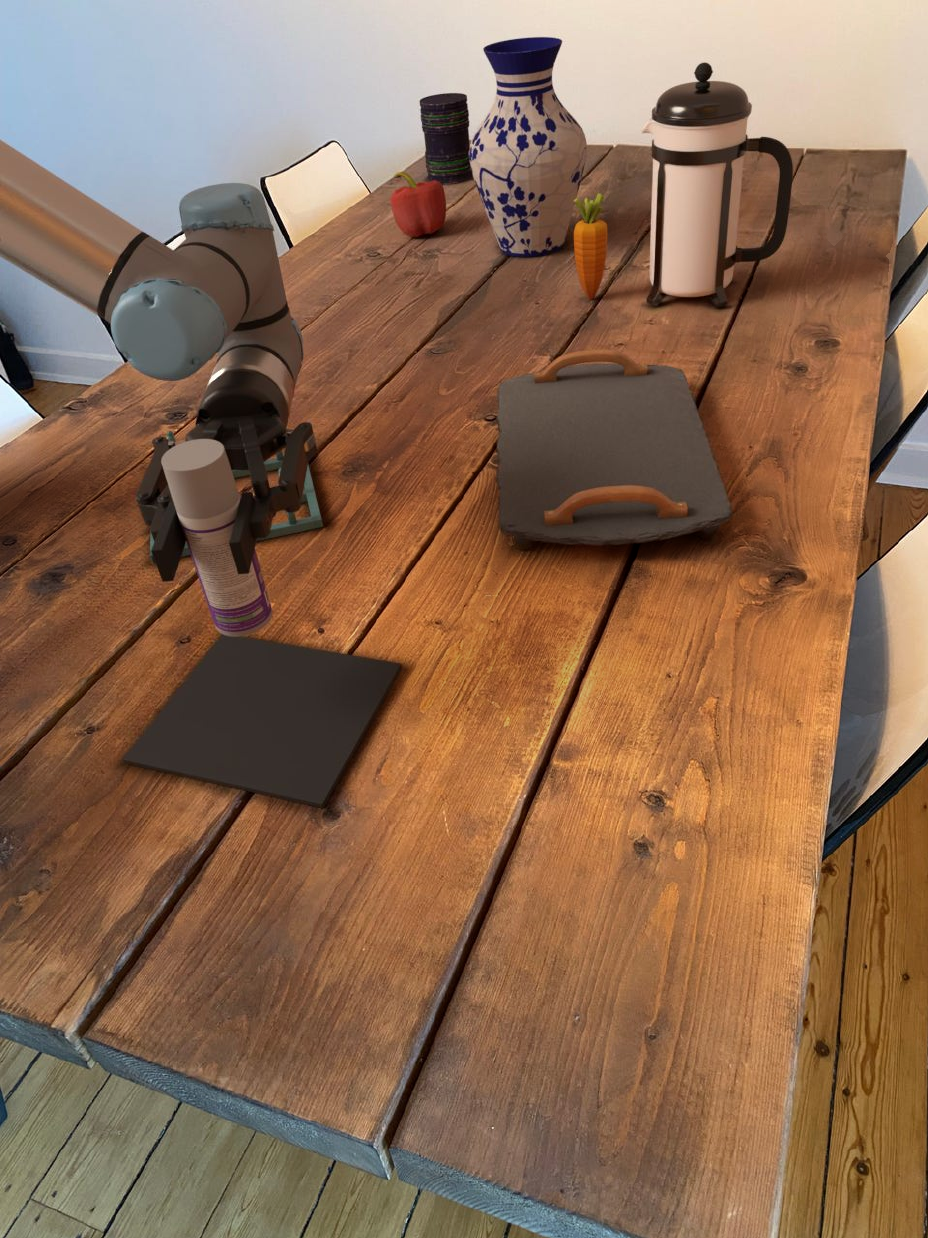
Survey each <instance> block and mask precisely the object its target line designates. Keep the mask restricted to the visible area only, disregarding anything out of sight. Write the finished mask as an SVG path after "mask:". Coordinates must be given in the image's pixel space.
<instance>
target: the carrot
mask: <svg viewBox="0 0 928 1238" xmlns="http://www.w3.org/2000/svg"><path fill="white" fill-rule="evenodd" d="M589 199H590V198H589V197H588V196H587V197H585V198H584V205H583V203H582V201H581V200H580V199H579V198H578V197H577V198H576V199H575V200H574V203H575V206H576V207H577V209H578V211H579V213H580V215H581V217H582V218H583V219H582V220H579V221H578V222H577V223H576V224H575V227H574V230H573V247H574V248H573V249H574V261H575V267H576V271H577V277H578V281H579V284H580V286H581V288H582V290H583V292H584V294H585V296H586V297H587V298H588V299H589V300H590V301H591V300H594V298H595V297H596V295H597V293H598V292H599V291H598V290H599V289H600V286H601V284H602V281H603V276H604V270H605V266H606V259H607V249H608V224H607V223H606V222H605V221H604V220H602V219H599V218H598V217H599V215H600V214H601V213H602V211H603V210H604V207H603V206H601V204H602V202H603V199H604V195H603V194H602V193H601V192H600V193H599V192H598V193H597V195H596V197H595V200H593V199H592V200H591V199H590V200H589Z"/></svg>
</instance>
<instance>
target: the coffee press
mask: <svg viewBox="0 0 928 1238" xmlns="http://www.w3.org/2000/svg"><path fill="white" fill-rule="evenodd" d="M713 73H714V70H713V67H712V66H711V64H710V63H709V62H701V63H699V64H697V66H696V68H695V70H694V72H693V74H694V77H695V79H696V80H697V81H691V82H686V83H685V82H684V83H682V84H681V83H680V84H678V85H677V84H676V85H674V86H671V87H670V88H668V89H667V90H665V91H664V92H662V94H660V96H659V97H658V99H657V101H656V104H655V106H654V107H652V109H651V116H650V117H649V118H648V120H646V122H645V124H644V125H643V127H642V128H641V130H640V133H641V134H652V136H653V139H652V140H651V158H652V178H651V179H652V182H651V209H650V212H651V213H650V239H649V240H650V241H649V273H648V274H649V275H648V277H649V282H650V284H651V286H652V288H651V289H650V290H649V291H650V292H649V293H648V295H647V297H646V301H645V302H646V304H647V305H649V306H651V307H653V308H657V307H658V306H660V305H661V303H662V301H663V300H664V299H665V298H667V297H668V296H673V297H680V298H698V297H704V296H706V297H708V298H709V299H710V301H711V303H712V305H713V307H714V308H715V309H720V308H724V307H726V306H727V305H728V298H727V295H726V292H725V289H726V288H727V287H728V286H729V285H730V283H731V282H732V280H733V277H734V269H735V264H736V263H749V262H750V263H752V262H759V261H763V260H766V259H768V258H770V257H772V256H773V255H774V254H775V253H776V252H777V251H779V249H780V247H781V245H782V244H783V242H784V240H785V236H786V233H787V228H788V223H789V213H790V205H791V197H792V188H793V175H794V166H793V164H794V163H793V159H792V155H791V153H790V151H789V149H788V148H787V146H786V145H785V144H784V142H782V141H780V140H778V139H777V138H773V137H770V136H769V137H768V136H760V137H753V138H752V137H751V138H749V135H748V134H747V127H748V119H749V117H750V115H751V114H752V109H753V104H752V103H751V102H750V101H749V97H748V94H747V92H746V91H745V90H744V89H743V88H742V87H740V86H739V85H737V84H735V83H732V82H727V81H721V80H710V79H711V77H712V75H713ZM747 152H758V153H764V154H768V155H769V156H772V157H773V158H774V160H775V161H776V163H777V165H778V171H779V180H778V188H777V196H776V198H777V199H776V206H775V216H774V222H773V230H772V234H771V236H770V238H769V240H768V241H767V242H766V243H764V244H763V245H761V246H757V247H747V248H745V247H744V248H742V247H738V245H737V239H738V238H737V237H738V227H739V217H740V205H741V194H742V183H743V171H744V163H745V162H744V160H745V156H746V153H747ZM658 292H659V294H658Z"/></svg>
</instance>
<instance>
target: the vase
mask: <svg viewBox="0 0 928 1238" xmlns="http://www.w3.org/2000/svg"><path fill="white" fill-rule="evenodd" d="M562 44H563V40H562V39H561V38H557V37H551V36H533V37H532V36H531V37H520V38H519V37H518V38H511V39H506V40H500V41H497V42H492V43H490V44H487V45H486V46H484V47H483V49H482V50H483V52H484V55H485V56H486V58H487V60H488V62H489V64H490V66H491V68H492V70H493V74H494V76H495V80H496V81H495V82H496V92H495V97H494V100H493V103H492V106H491V107H490V109H489V111H488V113H487V114H486V116H485V117H484V118H483V120H482V121H481V123H480V124H479V126H478V128H477V129H476V130H475V133H473V136H472V137H471V141H470V149H469V158H470V165H471V170H472V174H473V177H472V178H473V180H474V182H475V185H476V189H477V192H478V194H479V198H480V201H481V203H482V206H483V207H484V210H485V213H486V216H487V218H488V220H489V223H490V225H491V228H492V231H493V233H494V236H495V238H496V241H497V243H498V245H499V248H500V251H501V252H502V253H503V254H505V255H507V256H512V257H515V258H517V257H519V258H534V257H541V256H546V255H550V254H553V253H555V252H557V251H559V250H561V249H562V248H563V247H564V244H565V242H566V241H565V240H566V236H567V233H568V229H569V226H570V222H571V219H572V215H573V213H574V208H575V206H576V204H575V203H574V200H575V199H576V198H578V194H579V190H580V186H581V183H582V178H583V174H584V170H585V165H586V161H587V147H588V145H587V144H588V143H587V138H586V135H585V132H584V129H583V128H582V126H581V125H580V123H579V122H578V121H577V119H576V118H575V117H574V116H573V115H572V114H571V112H569V111H568V110H567V109H566V107H565V106H564V105H563V104H562V102H561V101H560V100H559V98H558V96H557V93H556V92H555V89H554V86H553V71H554V66H555V62H556V59H557V57H558V55H559V53H560V50H561V47H562Z"/></svg>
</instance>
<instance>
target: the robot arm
mask: <svg viewBox="0 0 928 1238" xmlns="http://www.w3.org/2000/svg"><path fill="white" fill-rule="evenodd" d="M178 212H179V216H180V223H181V227H180V228H181V232H182V233H183V234H184V237H185V239H184V240H182V241H181V243H180V244H178V246H177V247H176V248H174V249H172V248H170V246H168V245H166V244H164V243H163V242H162V241H159V239H156V238H155V237H153V236H151V235H150V234H148V233H147V232H144V231H143V230H141V229H140V228H138V227H137V226H135V225H134V224H132V223H130V222H129V221H127V220H126V219H124V218H123V217H121V216H119V214H116V213H115V212H113V211H111V210H110V209H109V208H107V207H105V206H104V205H102V204H101V203H99V202H98V201H96V200H95V199H93V198H92V197H90V196H89V195H87V194H85V193H84V192H83V191H81V190H79V189H78V188H76V187H75V186H73V185H72V184H70V183H69V182H67V181H65V180H64V179H62V178H61V177H59V176H57V175H56V174H54V173H53V172H51V171H50V170H48V169H47V168H45V167H44V166H43V165H40V164H39V163H38V162H36V161H34V160H33V159H31V158H30V157H28V156H27V155H26V154H23V152H21V151H19V150H18V149H16V148H14V147H13V146H11V145H10V144H8V143H7V142H5V141H3V140H2V139H0V258H2V259H3V260H5V261H7V262H8V263H10V264H12V265H13V266H15V267H17V268H18V269H20V270H22V271H23V272H25V273H27V274H28V275H30V276H32V277H34V278H35V279H37V280H39V282H42V283H43V284H44V285H47V286H48V287H50V288H51V289H52V290H55V291H56V292H57V293H60V294H61V295H63V296H65V297H66V298H68V299H70V300H71V301H73V302H75V303H76V304H77V305H80V306H81V307H83V308H84V309H86V310H88V311H89V312H91V313H93V314H94V315H96V316H98V317H99V318H101V319H103V320H104V321H105V322H107V323H108V324H110V331H111V335H112V338H113V342H114V345H115V346H116V348H117V350H118V352H120V353H121V354H122V355H123V357H124V358H125V359H126V360H127V361H128V364H129V365H130V366H131V367H132V368H133V369H134V370H136V371H137V372H139V373H140V374H142V375H144V376H146V377H149V378H151V379H155V380H158V381H164V382H165V381H166V382H177V381H182V380H185V379H188V378H190V377H191V376H193V375H195V374H197V372H198V371H199V370H201V369H202V368H203V367H204V366H205V365H206V364H207V363H208V362H209V361H211V360H212V359H214V357H215V356H216V354H217V360H216V362H215V365H214V367H213V369H212V372H211V375H210V377H209V378H208V379H209V380H208V381H207V384H206V388H205V390H204V393H203V396H202V398H201V401H200V403H199V405H198V409H197V413H196V418H195V424H194V427H193V428H192V429H190V430H189V431H188V432H187V433H186V434H185V438H184V439H182V440H176V442H173V441H170V442H169V441H168V438H167V436H164V435H163V436H157V437H154V438H153V439H152V440H151V443H152V446H153V447H152V448H153V449H154V450H153V451H154V452H153V454H152V456H151V458H150V462H149V463H148V465H147V468H146V470H145V473H144V475H143V478H142V480H141V482H140V484H139V487H138V489H137V491H136V494H135V496H134V497H135V500H136V503H137V505H138V508H139V511H140V514H141V517H142V519H143V522H144V524H145V526H147V527H149V531H150V533H151V534H152V537H153V539H154V545H153V547H152V550H151V552H152V554H153V557H154V560H155V562H156V563H155V566H156V568H157V571H158V573H159V575H160V578H161V581H162V583H166V582H174V580H175V577H176V574H177V570H178V567H179V565H180V561H181V558H182V557H181V555H182V552H183V549H184V546H185V543H187V542H186V539H185V536H184V533H183V530H182V527H181V525H180V522H179V518H178V515H177V511H176V508H175V505H174V502H173V498H172V495H171V492H170V489H169V485H168V482H167V479H166V476H165V472H164V469H163V466H162V462H161V460H162V457H163V455H164V454H165V453H166V452H167V451H168V450H169V449H171V448H172V447H174V446H176V445H178V444H181V443H184V442H187V441H191V440H196V439H211V440H216V441H218V442H220V443H222V444H223V446H224V448H225V451H226V455H227V458H228V461H229V464H230V467H231V470H249V472H250V475H249V476H250V480H251V481H250V483H251V486H252V490H253V491H246V492H242V493H241V496H240V503H239V507H238V511H237V514H236V518H235V522H234V526H233V529H232V533H231V537H230V541H229V545H230V549H231V552H232V555H233V558H234V562H235V565H236V568H237V572H238V574H249V571H250V566H251V562H252V558H253V553H254V549H255V550H256V544H257V541H256V540H257V538H266V537H267V536H268V535H269V534H270V530H271V525H273V519H274V518H275V517H276V516H277V512H280V511H283V510H284V511H285V513H287V512H291V513H292V512H294V513H296V512H298V511H299V510H300V509H301V506H302V502H301V501H302V495H303V490H305V487H304V484H305V478H306V472H307V467H308V465H309V462H310V461H311V459H312V458H313V457H314V456H315V455H316V454H317V452H318V448H317V447H318V446H317V443H316V442H317V441H316V438H315V437H316V436H315V433H314V429H313V424H312V423H311V422H310V421H309V422H308V421H304V422H301V423H299V424H298V425H297V426H296V427H295V428H293V429H288V428H287V427H288V424H289V418H290V413H291V409H292V403H293V398H294V396H295V389H296V385H297V381H298V378H299V374H300V373H301V369H302V367H303V365H302V362H303V360H304V354H305V353H304V340H303V335H302V331H301V329H300V327H299V324H298V323H297V322H296V319H294V317H292V313H291V310H290V307H289V305H288V304H289V303H288V299H287V294H286V290H285V289H286V288H285V285H284V279H283V275H282V270H281V269H282V268H281V264H280V260H279V256H278V255H279V254H278V250H277V246H276V240H275V235H274V231H275V229H274V228H275V227H274V225H273V224H272V222H271V218H270V214H269V211H268V207H267V204H266V200H265V197H264V194H263V193H262V191H261V190H260V189H259V188H257V187H256V186H254V185H251V184H250V183H249V184H248V183H242V182H226V183H217V184H212V185H206V186H203V187H199V188H196V189H194V190H191V191H190V192H187V194H185V195H184V196H182V198H181V199H180V201H179V206H178ZM281 450H282V451H283V450H284V453H283V456H284V457H283V462H282V467H281V471H280V476H279V475H278V481H277V483H278V485H274V486H270V482H269V477H268V474H267V472H266V469H265V464H264V462H265V461H266V460H270V459H271V458H272V457H274V456H276V454H277V453H278V452H279V451H281Z"/></svg>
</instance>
